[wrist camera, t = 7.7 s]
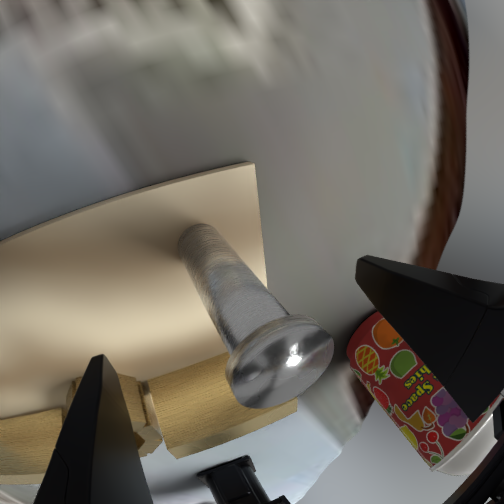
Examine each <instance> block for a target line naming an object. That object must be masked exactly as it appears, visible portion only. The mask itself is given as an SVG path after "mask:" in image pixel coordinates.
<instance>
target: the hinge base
mask: <svg viewBox="0 0 504 504" xmlns="http://www.w3.org/2000/svg"><path fill="white" fill-rule="evenodd" d="M229 357H230V354H229V352H228V351H227V352H225V353H222V354H219V355H217V356H214V357H212V358H209V359H206V360H203V361H201V362H198V363H195V364H192V365H189V366H187V367H184V368H181V369H178V370H175V371H172V372H169V373H166V374H163V375H160V376H157V377H154V378H151V379H148V380H147V381H148V385H149V389H150V393H151V395H150V394H149V393H148V391H147V390H146V388H145V387H144V385H143V384H142V382H141V381H136V378H135V377H131V376H127V375H123V374H119V373H117V375H118V378H119V382H120V385H121V389H122V392H123V396H124V399H125V402H126V406H127V409H128V412H129V415H130V419H131V423H132V427H133V432H134V436H135V441H136V445H137V449H138V453H139V457H144V456H147V453H153V451H154V450H155V449H156V448H157V447H158V446H159V445H160V444H161V443H162V441H163V440H162V438H164V441H165V444H166V447H167V450H168V451H169V452H170V453H171V454H172V455H173V456H174V457H175V458H176V459H178V458H182V457H185V456H188V455H191V454H195V453H198V452H201V451H204V450H206V449H209V448H212V447H215V446H218V445H220V444H223V443H226V442H228V441H231V440H234V439H236V438H239V437H241V436H244V435H246V434H248V433H251V432H253V431H255V430H258V429H260V428H262V427H265V426H267V425H269V424H271V423H273V422H276V421H278V420H280V419H282V418H284V417H286V416H288V415H290V414H292V413H294V412H296V411H297V397H294V398H292V399H290V400H289V401H286V402H284V403H282V404H279V405H276V406H273V407H268V408H262V409H253V408H248V407H245V406H243V405H241V404H240V403H239V402H238V401H237V400H236V398H235V396H234V394H233V392H232V390H231V388H230V386H229V384H228V382H227V380H226V377H225V369H226V364H227V362H228V359H229ZM82 377H83V376H80V377H76V382H75V381H72V382H71V385H70V387H69V390H68V393H67V396H66V411H67V413H68V410H69V408H70V405H71V403H72V400H73V398H74V395H75V393H76V391H77V388H78V386H79V384H80V381H81V379H82ZM151 397H152V399H151ZM152 400H153V402H152ZM153 404H154V406H153ZM154 408H155V410H154ZM155 411H156V413H155ZM156 415H157V417H156ZM157 418H158V420H157ZM158 422H159V424H158ZM159 425H160V427H159ZM160 428H161V430H160ZM161 432H162V433H161ZM162 435H163V437H162Z"/></svg>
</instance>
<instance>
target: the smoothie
mask: <svg viewBox="0 0 504 504" xmlns="http://www.w3.org/2000/svg"><path fill="white" fill-rule="evenodd" d="M346 354H347V356H348V358H349V359H350V368H351V369H352V371H353V372H354V373H355V375H356V376H357V377H358V378H359V380H360V381H361V382H362V383H363V385H364V386H365V387H366V388H367V390H368V391H369V392H370V393H371V395H372V396H373V397H374V398H375V400H376V401H377V402H378V403H379V405H380V406H381V407H382V408H383V410H384V411H385V412H386V413H387V415H388V416H389V417H390V418H391V419H392V421H393V422H394V423H395V424H396V426H397V427H398V428H399V430H400V431H401V432H402V433H403V435H404V436H405V437H406V438H407V440H408V441H409V442H410V443H411V445H412V446H413V447H414V448H415V450H416V451H417V452H418V453H419V455H420V456H421V457H422V458H423V460H424V461H425V462H426V463H427V464H428V465H429V466H430V470H431V471H432V472H433V471H439V472H442V473H445V474H448V475H454V476H463V475H470V474H472V472H473V471H474V470H475V469H476V468H477V467H478V465H479V464H480V463H481V462H482V460H483V459H484V458H485V457H486V455H487V454H488V453H489V452H490V450H491V449H492V448H493V446H494V445H495V444H496V442H497V440H496V439H495V438H494V427H493V415H492V412H493V411H494V409H495V408H496V407H497V405H498V404H499V402H500V401H501V399H502V398H503V397H502V396H501V395H500V394H499V395H498V396H497V398H496V399H495V400H494V401H493V402H492V403H491V404H490V406H489V407H488V408H487V409H486V410H485V411H484V412H483V413H482V414H481V415H480V416H479V418H478V419H477V420H476V421H475V422H474V423H472V422H471V421H470V420H469V418H468V417H467V416H466V415H465V413H464V412H463V411H462V409H461V408H460V407H459V406H458V404H457V403H456V402H455V401H454V399H453V398H452V397H451V396H450V394H449V393H448V392H447V391H446V390H445V388H444V386H442V384H441V383H440V382H439V381H438V380H437V378H436V377H435V376H434V375H433V374H432V372H431V371H430V370H429V369H428V368H427V366H426V365H425V364H424V363H423V362H422V361H421V359H420V358H419V357H418V356H417V355H416V354H415V352H414V351H413V350H412V349H411V348H410V347H409V345H408V344H407V343H406V342H405V341H404V340H403V339H402V338H401V336H400V335H399V334H398V333H397V332H396V331H395V330H394V328H393V327H392V326H391V325H390V324H389V323H388V322H387V321H386V320H385V318H384V317H383V316H382V315H381V314H380V313H379V312H378V311H377V312H376V313H374V314H373V315H371V316H370V317H368V318H367V319H366V320H365V321H364V322H363V323H362V324H361V325H360V326H359V327H358V329H357V330H356V331H355V333H354V334H353V336H352V337H351V339H350V341H349V344H348V346H347V352H346Z"/></svg>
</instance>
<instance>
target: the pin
mask: <svg viewBox="0 0 504 504" xmlns="http://www.w3.org/2000/svg"><path fill="white" fill-rule="evenodd" d="M178 253H179V255H180V257H181V259H182V262H183V264H184V266H185V268H186V270H187V272H188V274H189V276H190V278H191V280H192V282H193V284H194V286H195V288H196V291H197V293H198V295H199V297H200V299H201V301H202V303H203V305H204V307H205V308H206V310H207V312H208V314H209V316H210V318H211V320H212V322H213V324H214V326H215V328H216V330H217V332H218V334H219V335H220V337H221V339H222V341H223V343H224V345H225V347H226V348H227V350H228V352H229V354H230V357H229V359H228V362H227V364H226V369H225V377H226V380H227V382H228V384H229V386H230V388H231V390H232V392H233V394H234V396H235V398H236V400H237V401H238V402H239V403H240V404H241V405H243V406H245V407H248V408H253V409H262V408H268V407H273V406H276V405H279V404H282V403H284V402H286V401H289V400H290V399H292V398H294V397H296V396H297V395H299V394H301V393H302V392H303V391H305V390H306V389H307V388H309V387H310V386H311V385H312V384H313V383H314V382H315V381H316V380H317V379H318V378H319V377H320V376H321V375H322V374H323V372H324V371H325V370H326V368H327V366H328V365H329V363H330V361H331V359H332V356H333V352H334V342H333V339H332V338H331V336H330V335H329V334H328V333H327V332H326V331H325V330H324V329H323V328H322V327H321V326H320V324H319V323H318V322H317V321H316V320H314V319H313V318H311V317H309V316H305V315H290V314H289V313H288V312H287V311H286V310H285V309H284V307H283V306H282V305H281V304H280V303H279V302H278V301H277V299H276V298H275V297H274V296H273V295H272V294H271V292H270V291H269V290H268V289H267V288H266V287H265V285H264V284H263V283H262V282H261V281H260V280H259V279H258V277H257V276H256V275H255V274H254V273H253V272H252V270H251V269H250V268H249V267H248V266H247V265H246V263H245V262H244V261H243V260H242V259H241V258H240V256H239V255H238V254H237V253H236V252H235V251H234V249H233V248H232V247H231V246H230V245H229V244H228V242H227V241H226V240H225V239H224V238H223V237H222V235H221V234H220V233H219V232H218V231H217V230H216V229H215V228H214V227H213V226H211V225H208V224H196V225H193V226H191V227H189V228H188V229H186V230H185V231H184V232H183V233H182V235H181V236H180V238H179V241H178Z"/></svg>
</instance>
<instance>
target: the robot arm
mask: <svg viewBox="0 0 504 504" xmlns="http://www.w3.org/2000/svg"><path fill="white" fill-rule="evenodd" d="M355 279H356V282H357V284H358V285H359V286H360V288H361V289H362V290H363V292H364V293H365V294H366V296H367V297H368V298H369V300H370V301H371V302H372V304H373V305H374V306H375V308H376V309H377V310H378V312H379V313H380V314H381V315H382V316H383V317H384V318H385V320H386V321H387V322H388V323H389V324H390V325H391V326H392V327H393V328H394V330H395V331H396V332H397V333H398V334H399V335H400V336H401V338H402V339H403V340H404V341H405V342H406V343H407V344H408V345H409V347H410V348H411V349H412V350H413V351H414V352H415V354H416V355H417V356H418V357H419V358H420V359H421V361H422V362H423V363H424V364H425V365H426V366H427V368H428V369H429V370H430V371H431V372H432V374H433V375H434V376H435V377H436V378H437V380H438V381H439V382H440V383H441V384H442V386H444V388H445V390H446V391H447V392H448V393H449V394H450V396H451V397H452V398H453V399H454V401H455V402H456V403H457V404H458V406H459V407H460V408H461V409H462V411H463V412H464V413H465V415H466V416H467V417H468V418H469V420H470V421H471V422H472V423H474V422H475V421H476V420H477V419H478V418H479V416H480V415H481V414H482V413H483V412H484V411H485V410H486V409H487V408H488V407H489V406H490V404H491V403H492V402H493V401H494V400H495V399H496V398H497V396H498V395H499V394H500V395H501V396H502V397H503V398H502V399H501V401H500V402H499V404H498V405H497V407H496V408H495V409H494V411H493V412H492V415H493V427H494V438H495V439H496V440H497V442H496V444H495V445H494V446H493V448H492V449H491V450H490V452H489V453H488V454H487V455H486V457H485V458H484V459H483V460H482V462H481V463H480V464H479V465H478V467H477V468H476V469H475V470H474V471H473V472H472V474H471V475H470V476H469V477H468V478H467V479H466V480H465V481H464V483H463V484H462V485H461V486H460V487H459V488H458V489H457V490H456V491H455V492H454V493H453V494H452V495H451V496H450V497H449V498H448V499H447V500H446V501H445V502H444V503H443V504H484V503H485V502H486V501H487V499H488V498H489V497H490V498H491V499H492V500H490V501H489V502H488V503H487V504H504V284H500V283H494V282H489V281H483V280H477V279H472V278H467V277H463V276H458V275H454V274H453V275H452V274H450V273H446V272H441V271H437V270H432V269H428V268H424V267H419V266H415V265H410V264H406V263H401V262H397V261H392V260H388V259H383V258H379V257H374V256H369V255H366V256H363V257H361V258H359V259H358V260H357V264H356V274H355ZM255 471H256V470H255V467H254V465H253V462H252V460H251V458H250V456H246V457H244V458H241V459H239V460H236V461H233V462H231V463H228V464H225V465H223V466H220V467H217V468H214V469H211V470H208V471H205V472H202V473H199V474H197V477H198V479H199V480H201V481H202V482H203V483H204V484H205V485H206V486H208V487H209V488H210V490H211V492H212V495H213V497H214V499H215V501H216V503H217V504H290V502H289V501H288V500H287V498H286V497H285V496H284V495H282V496H280V497H279V498H277V499H275V500H272V501H270V499H269V497H268V496H267V494H266V492H265V491H264V489H263V487H262V486H261V484H260V482H259V480H258V479H257V477H256V475H255V473H254V472H255ZM33 504H153V501H152V498H151V495H150V492H149V489H148V485H147V482H146V479H145V475H144V472H143V468H142V465H141V461H140V457H139V453H138V449H137V445H136V441H135V436H134V432H133V427H132V423H131V419H130V415H129V412H128V409H127V406H126V402H125V399H124V396H123V392H122V389H121V385H120V382H119V378H118V375H117V372H116V370H115V369H114V367H113V366H112V364H111V363H110V361H109V360H108V358H107V357H106V356H105V355H104V354H99V355H96V356H93V357H92V358H91V359H90V361H89V364H88V366H87V368H86V370H85V372H84V375H83V377H82V379H81V381H80V384H79V386H78V388H77V391H76V393H75V395H74V398H73V400H72V403H71V405H70V408H69V410H68V413H67V415H66V418H65V420H64V423H63V425H62V428H61V431H60V433H59V436H58V439H57V442H56V445H55V448H54V450H53V453H52V456H51V459H50V462H49V464H48V467H47V470H46V473H45V475H44V478H43V480H42V483H41V486H40V488H39V490H38V493H37V495H36V498H35V500H34V503H33Z"/></svg>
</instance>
